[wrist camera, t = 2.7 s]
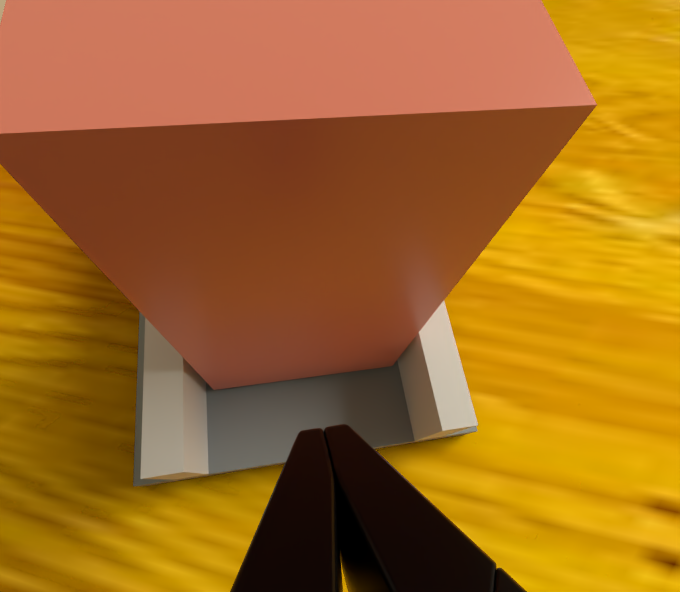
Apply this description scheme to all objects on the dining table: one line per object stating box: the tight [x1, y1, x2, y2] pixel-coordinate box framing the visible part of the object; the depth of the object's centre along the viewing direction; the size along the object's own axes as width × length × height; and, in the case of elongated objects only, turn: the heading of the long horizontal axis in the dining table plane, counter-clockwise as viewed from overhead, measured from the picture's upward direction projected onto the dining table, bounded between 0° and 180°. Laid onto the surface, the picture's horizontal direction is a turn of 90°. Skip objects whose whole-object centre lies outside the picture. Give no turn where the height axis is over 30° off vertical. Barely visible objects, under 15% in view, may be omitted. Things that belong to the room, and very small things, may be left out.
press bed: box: [133, 301, 478, 486], centre depth 15 cm, size 16×11×4 cm
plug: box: [0, 0, 597, 390], centre depth 10 cm, size 3×6×11 cm, turn 99°
